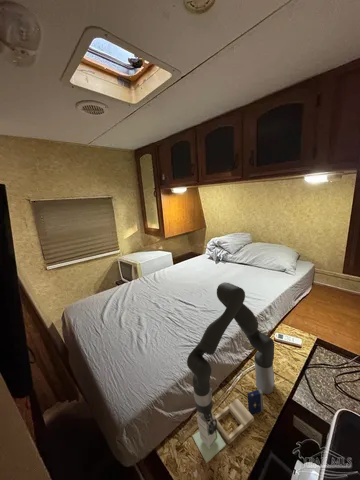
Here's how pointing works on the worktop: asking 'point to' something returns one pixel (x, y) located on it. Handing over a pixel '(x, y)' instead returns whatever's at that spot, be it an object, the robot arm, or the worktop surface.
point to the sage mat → (204, 450)
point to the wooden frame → (239, 414)
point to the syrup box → (206, 431)
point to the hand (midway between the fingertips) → (206, 425)
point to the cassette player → (255, 401)
